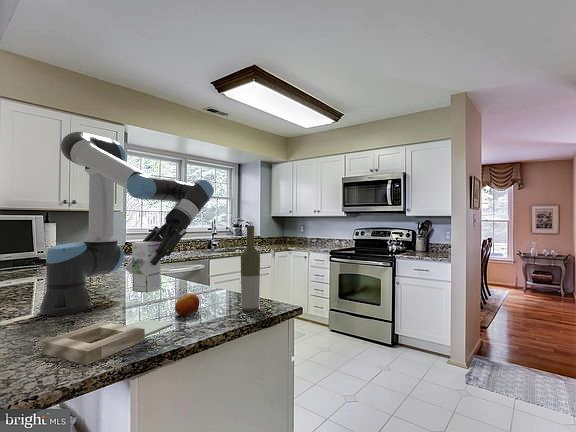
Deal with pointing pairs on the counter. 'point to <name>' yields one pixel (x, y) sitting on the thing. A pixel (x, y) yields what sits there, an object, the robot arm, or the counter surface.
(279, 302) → the counter surface
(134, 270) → the syrup box
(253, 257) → the bottle
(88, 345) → the slotted stand
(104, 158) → the robot arm
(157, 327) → the mat
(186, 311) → the fruit
